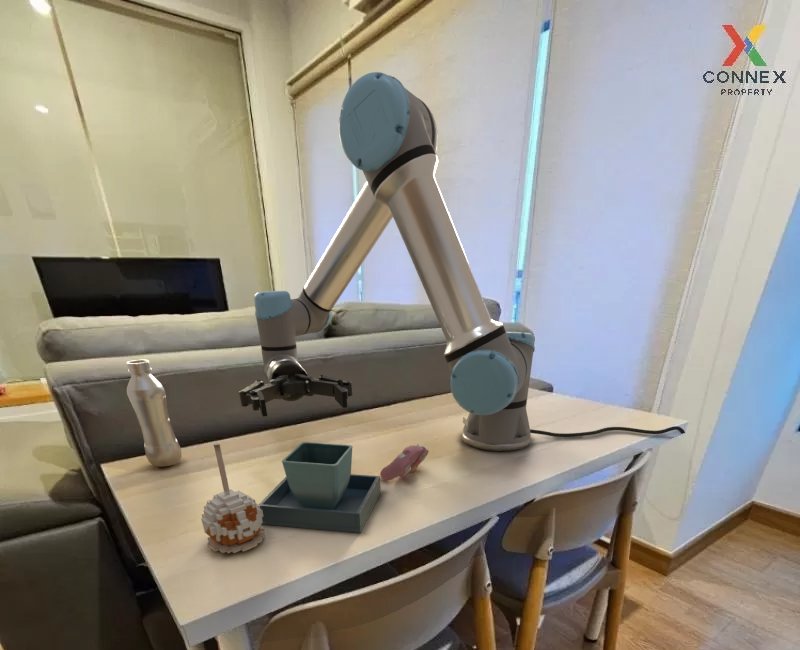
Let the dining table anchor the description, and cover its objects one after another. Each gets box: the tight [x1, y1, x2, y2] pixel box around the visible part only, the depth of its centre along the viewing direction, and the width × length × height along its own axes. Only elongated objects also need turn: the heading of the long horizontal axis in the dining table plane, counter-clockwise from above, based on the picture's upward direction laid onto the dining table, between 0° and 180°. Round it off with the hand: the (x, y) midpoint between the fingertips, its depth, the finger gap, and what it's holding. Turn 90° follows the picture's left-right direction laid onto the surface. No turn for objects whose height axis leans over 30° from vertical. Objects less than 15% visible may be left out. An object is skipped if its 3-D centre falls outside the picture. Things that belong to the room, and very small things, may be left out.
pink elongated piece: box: [379, 443, 429, 481], centre depth 87 cm, size 10×5×7 cm, turn 148°
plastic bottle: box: [126, 359, 183, 468], centre depth 89 cm, size 6×7×20 cm
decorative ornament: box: [200, 443, 266, 554], centre depth 64 cm, size 8×8×15 cm
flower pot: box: [281, 441, 353, 510], centre depth 74 cm, size 9×9×9 cm
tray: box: [258, 473, 382, 534], centre depth 76 cm, size 16×14×3 cm
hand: (305, 404), depth 77 cm, fingers open, 13 cm apart
